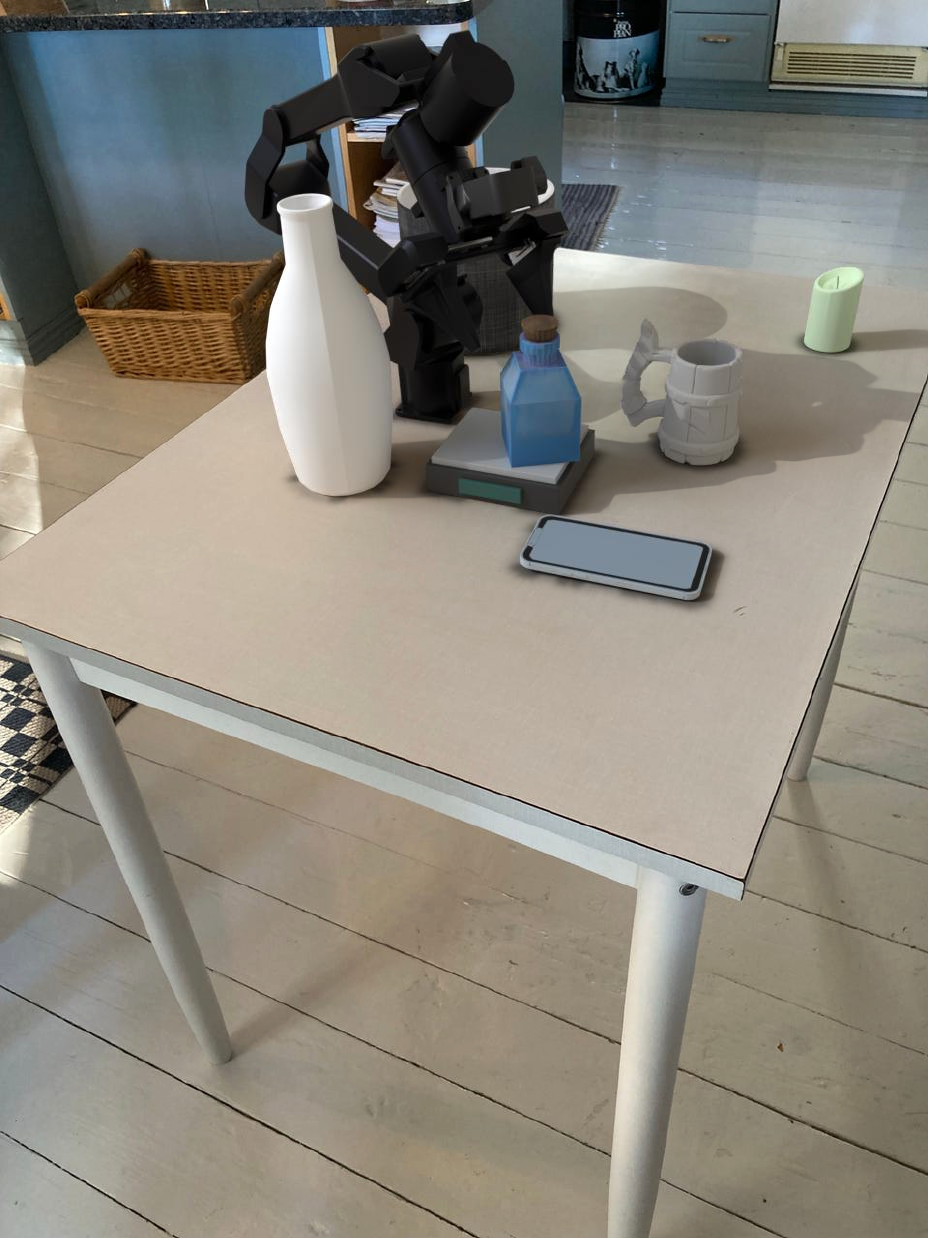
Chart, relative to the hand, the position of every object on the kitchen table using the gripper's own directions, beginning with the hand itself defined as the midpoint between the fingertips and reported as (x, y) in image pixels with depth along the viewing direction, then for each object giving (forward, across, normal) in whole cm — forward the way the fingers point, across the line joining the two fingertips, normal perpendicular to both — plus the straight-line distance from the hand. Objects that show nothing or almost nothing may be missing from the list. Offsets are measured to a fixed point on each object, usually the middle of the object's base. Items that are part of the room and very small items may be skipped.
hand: (514, 338), depth 89 cm
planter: (-9, +20, +26) cm, 34 cm away
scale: (+10, -1, +7) cm, 13 cm away
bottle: (+4, -12, +17) cm, 21 cm away
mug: (+15, +14, 0) cm, 20 cm away
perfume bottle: (+10, 0, +3) cm, 10 cm away
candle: (+11, +43, 0) cm, 44 cm away
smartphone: (+22, -5, -5) cm, 23 cm away
